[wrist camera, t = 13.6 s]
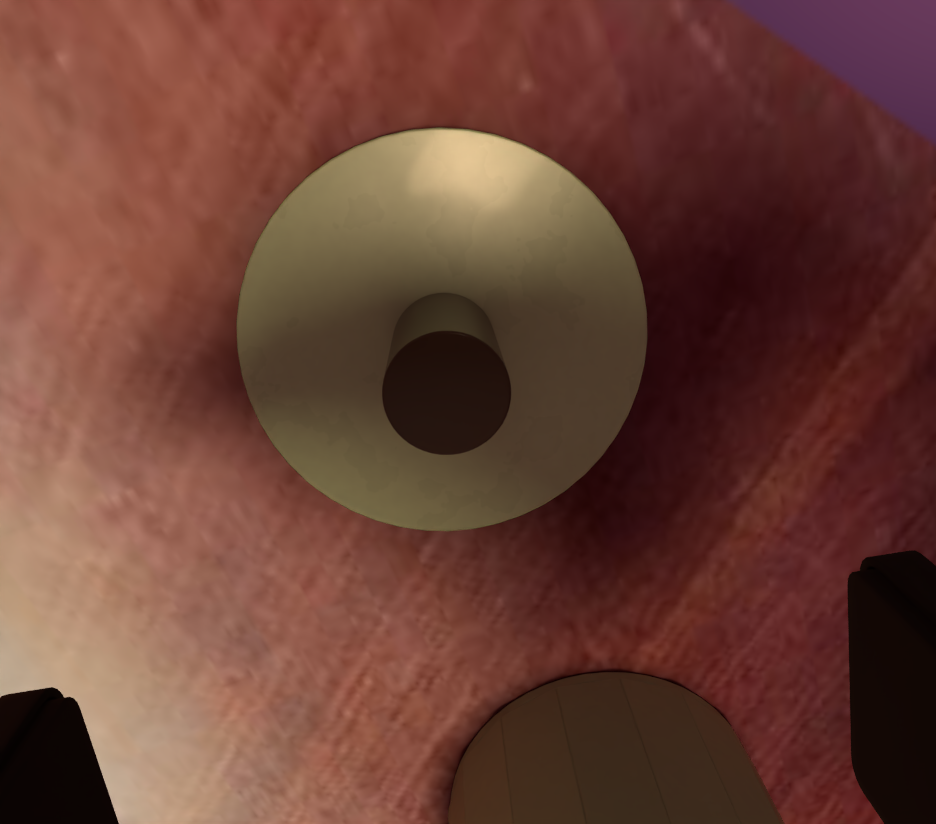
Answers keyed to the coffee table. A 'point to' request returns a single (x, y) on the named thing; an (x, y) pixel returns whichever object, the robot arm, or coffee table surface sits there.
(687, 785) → the tin
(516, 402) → the lid
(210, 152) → the coffee table surface
